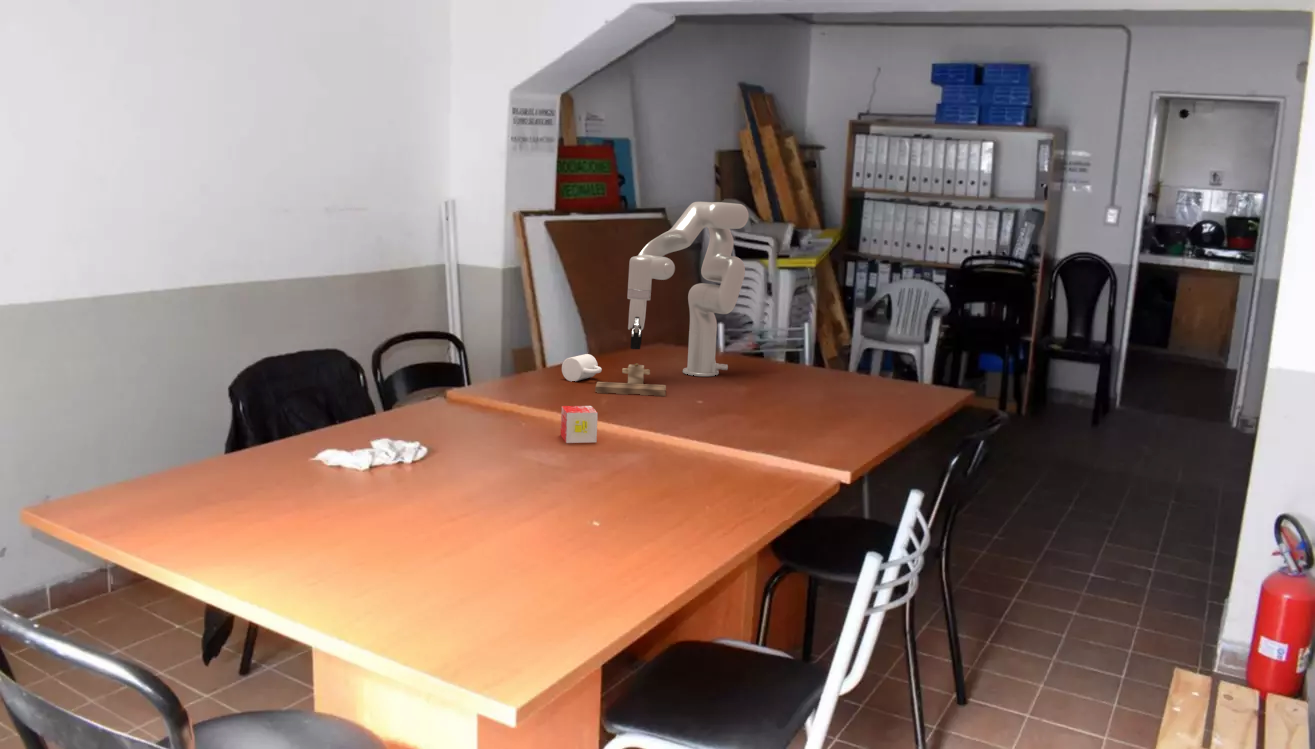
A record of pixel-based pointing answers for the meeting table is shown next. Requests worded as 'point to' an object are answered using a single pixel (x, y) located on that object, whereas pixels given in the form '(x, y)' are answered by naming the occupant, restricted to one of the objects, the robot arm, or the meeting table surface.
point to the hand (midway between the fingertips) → (635, 346)
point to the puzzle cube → (579, 424)
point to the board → (630, 388)
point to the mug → (580, 367)
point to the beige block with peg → (636, 373)
